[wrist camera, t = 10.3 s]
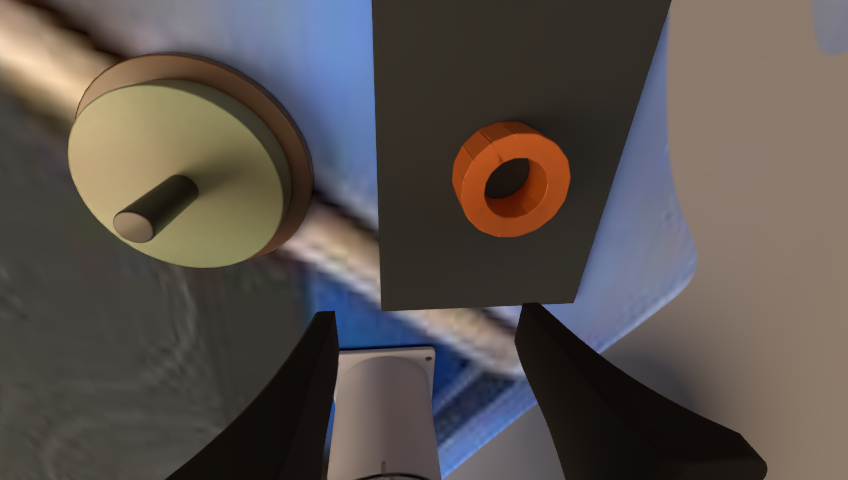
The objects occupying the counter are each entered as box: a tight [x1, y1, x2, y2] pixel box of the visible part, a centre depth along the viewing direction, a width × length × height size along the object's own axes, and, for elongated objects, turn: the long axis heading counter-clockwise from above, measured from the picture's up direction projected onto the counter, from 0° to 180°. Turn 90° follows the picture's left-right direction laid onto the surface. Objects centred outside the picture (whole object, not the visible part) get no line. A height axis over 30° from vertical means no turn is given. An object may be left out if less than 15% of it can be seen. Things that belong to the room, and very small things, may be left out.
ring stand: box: [67, 53, 314, 268], centre depth 16 cm, size 11×11×7 cm
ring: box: [452, 121, 571, 237], centre depth 19 cm, size 6×6×3 cm
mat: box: [372, 0, 671, 311], centre depth 20 cm, size 20×14×1 cm
